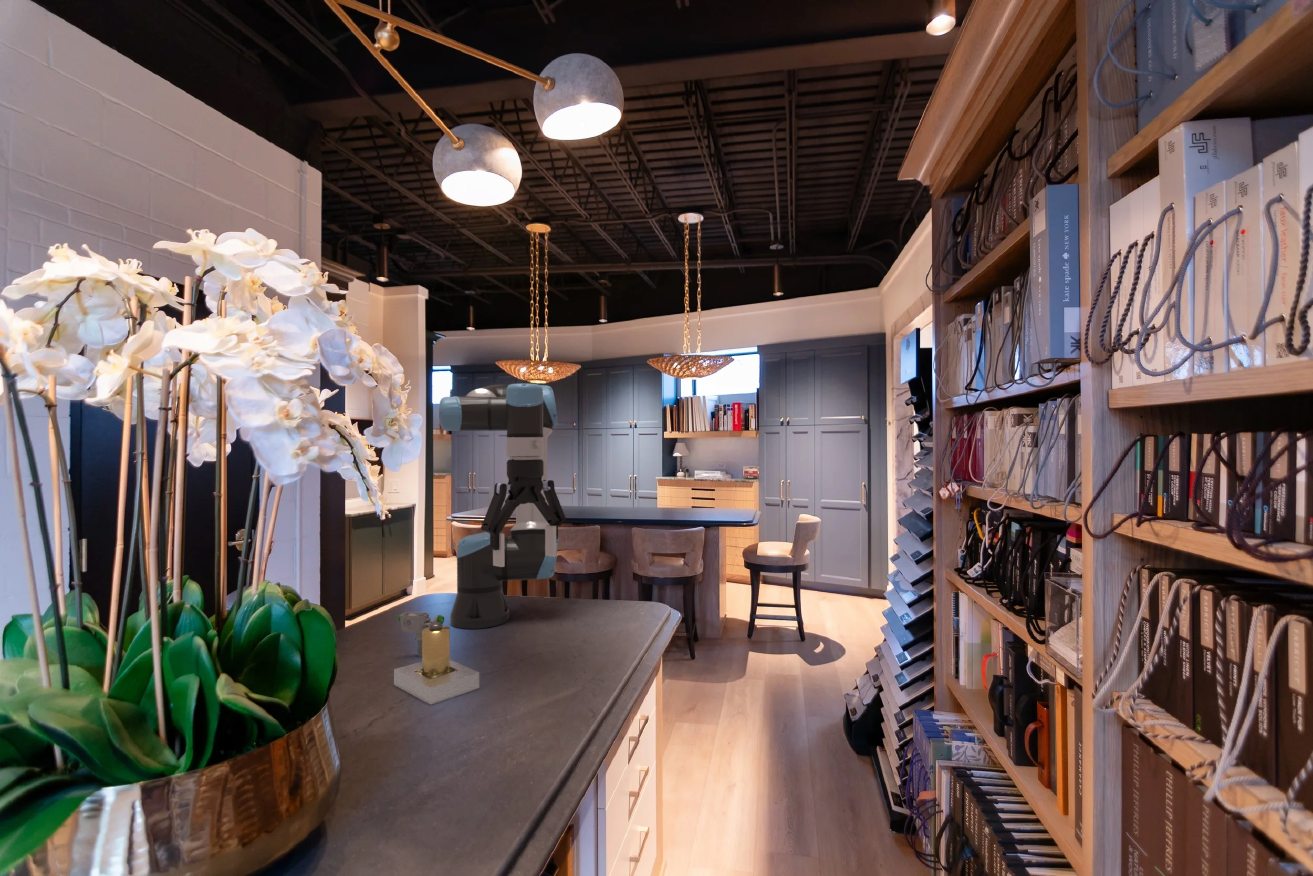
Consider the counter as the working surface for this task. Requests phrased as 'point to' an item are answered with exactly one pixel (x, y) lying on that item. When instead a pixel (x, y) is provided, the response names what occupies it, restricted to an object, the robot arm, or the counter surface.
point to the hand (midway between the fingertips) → (525, 561)
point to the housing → (436, 682)
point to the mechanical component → (417, 624)
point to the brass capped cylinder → (435, 650)
